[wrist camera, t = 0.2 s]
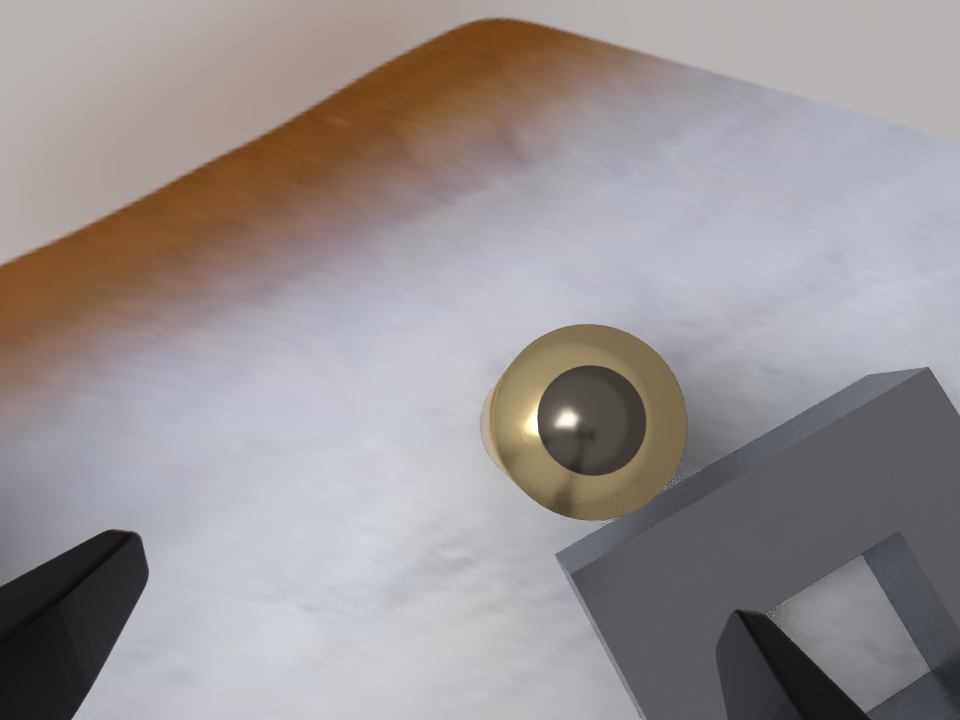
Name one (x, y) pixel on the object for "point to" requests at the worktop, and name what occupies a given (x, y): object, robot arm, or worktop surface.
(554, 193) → the worktop surface
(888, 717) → the plate
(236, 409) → the worktop surface
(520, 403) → the brass bushing
